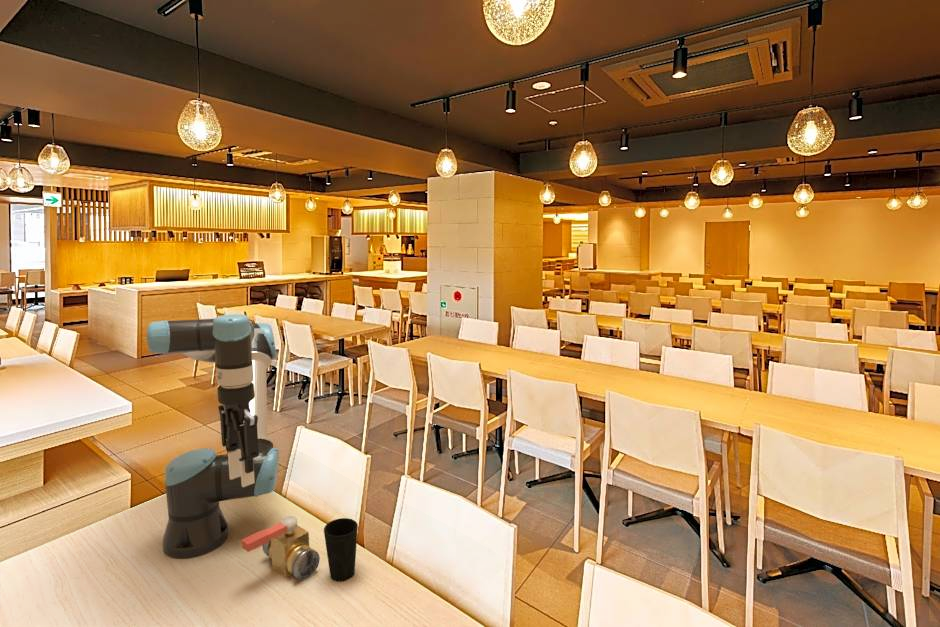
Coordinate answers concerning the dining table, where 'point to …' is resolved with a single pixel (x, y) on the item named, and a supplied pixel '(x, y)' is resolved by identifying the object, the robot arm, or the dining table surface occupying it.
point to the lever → (269, 533)
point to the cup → (341, 548)
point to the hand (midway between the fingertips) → (242, 480)
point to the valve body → (293, 554)
